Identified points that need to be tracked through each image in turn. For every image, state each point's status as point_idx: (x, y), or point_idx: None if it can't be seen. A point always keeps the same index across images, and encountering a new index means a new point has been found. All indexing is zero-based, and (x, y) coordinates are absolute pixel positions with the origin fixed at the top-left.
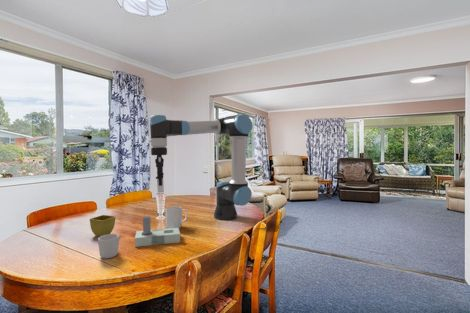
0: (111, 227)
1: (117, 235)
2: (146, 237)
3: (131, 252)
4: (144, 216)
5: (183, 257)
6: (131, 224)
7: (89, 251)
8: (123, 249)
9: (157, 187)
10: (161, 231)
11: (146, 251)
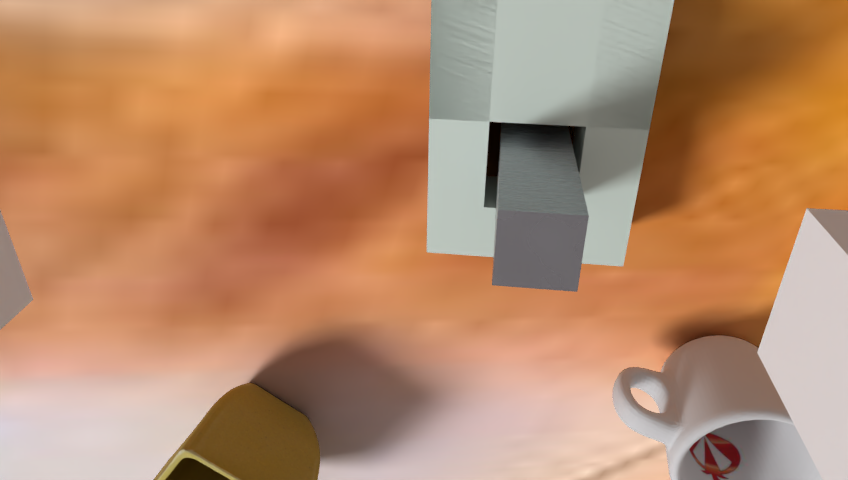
0: (249, 411)
1: (733, 422)
2: (640, 173)
3: (720, 250)
4: (510, 274)
5: None
6: (19, 255)
7: (566, 459)
8: (627, 298)
9: (830, 469)
10: (521, 22)
11: (764, 148)
